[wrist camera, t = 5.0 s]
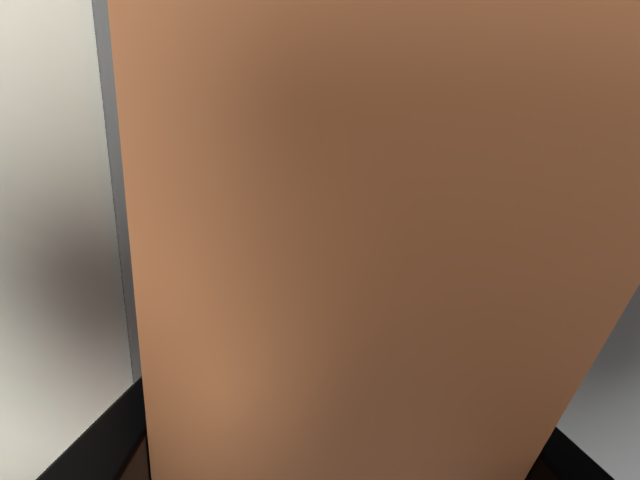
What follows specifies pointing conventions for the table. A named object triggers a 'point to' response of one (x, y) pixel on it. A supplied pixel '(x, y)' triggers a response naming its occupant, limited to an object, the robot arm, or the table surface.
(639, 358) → the mat
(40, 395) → the table surface
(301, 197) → the link
